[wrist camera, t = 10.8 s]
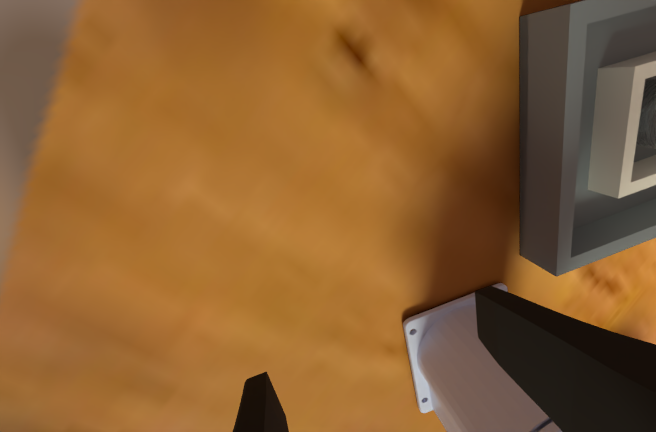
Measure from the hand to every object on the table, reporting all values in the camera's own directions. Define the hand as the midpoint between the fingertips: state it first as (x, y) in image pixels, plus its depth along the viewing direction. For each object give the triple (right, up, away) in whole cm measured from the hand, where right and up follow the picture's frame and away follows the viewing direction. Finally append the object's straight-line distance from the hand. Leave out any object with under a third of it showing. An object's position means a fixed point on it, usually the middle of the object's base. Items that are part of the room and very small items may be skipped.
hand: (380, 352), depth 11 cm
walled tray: (+18, +11, +11) cm, 24 cm away
